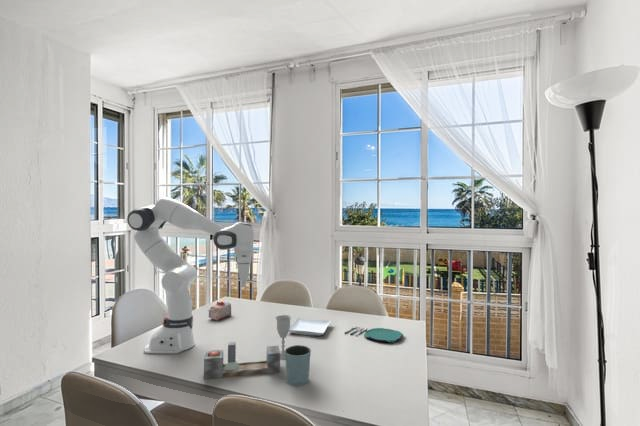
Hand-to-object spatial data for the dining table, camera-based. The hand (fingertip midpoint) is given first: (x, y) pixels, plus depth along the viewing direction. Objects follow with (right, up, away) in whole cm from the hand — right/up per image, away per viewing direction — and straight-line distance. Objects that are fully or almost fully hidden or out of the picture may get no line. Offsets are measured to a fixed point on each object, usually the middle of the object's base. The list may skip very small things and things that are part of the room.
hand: (243, 286), depth 161 cm
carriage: (-1, -29, -19) cm, 35 cm away
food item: (-26, -31, +52) cm, 66 cm away
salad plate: (+30, -32, +33) cm, 55 cm away
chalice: (+19, -32, -4) cm, 37 cm away
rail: (+4, -31, -18) cm, 36 cm away
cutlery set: (+66, -33, +26) cm, 78 cm away
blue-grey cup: (+27, -32, -25) cm, 49 cm away
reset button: (-7, -27, -21) cm, 35 cm away
